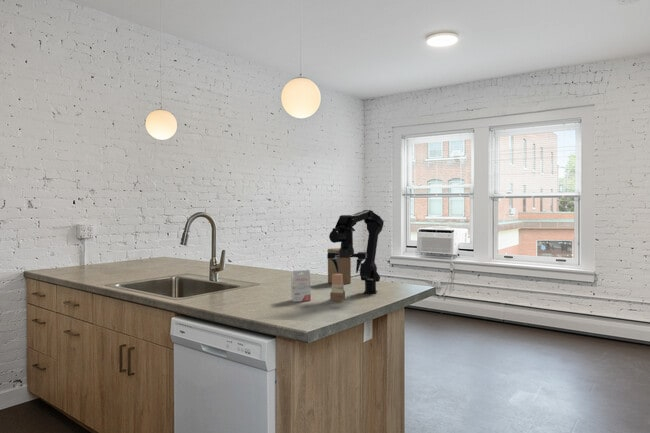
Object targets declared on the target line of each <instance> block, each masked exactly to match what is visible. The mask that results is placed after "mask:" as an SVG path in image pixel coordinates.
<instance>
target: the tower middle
mask: <svg viewBox="0 0 650 433" xmlns="http://www.w3.org/2000/svg"><path fill="white" fill-rule="evenodd" d="M344 291H345V284H344V283H342V284H341V285H336V284H332V283H331V292H332V293H343V292H344Z"/></svg>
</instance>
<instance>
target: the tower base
mask: <svg viewBox="0 0 650 433" xmlns="http://www.w3.org/2000/svg"><path fill="white" fill-rule="evenodd" d="M329 299H330V302H344V301H345V300H346V291H345V290H344V292H343V293H332V291H330V294H329Z"/></svg>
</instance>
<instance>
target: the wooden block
mask: <svg viewBox="0 0 650 433" xmlns="http://www.w3.org/2000/svg"><path fill="white" fill-rule="evenodd" d="M339 250H340V247H337V248H336V247H335V248H334V247H333V248H327V254H328V253H329V252H337V253H339ZM350 256H351V255H350ZM337 258H338V262H339V273H338V272H337V270H336V267H335V264H334V262H333V261H332V260H330V259H328V258H327V283H328V284H332V275H333V274H343V283H344V285H348V283H350V284H352V279H351V278H352V274H351V272H352V270H351V269H352V268H351V267H352V264H351V263H352V262H351V259H352V257H349V258H340V257H337Z"/></svg>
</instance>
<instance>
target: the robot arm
mask: <svg viewBox="0 0 650 433" xmlns="http://www.w3.org/2000/svg"><path fill="white" fill-rule="evenodd" d="M361 221H363V222H364V223H365V225H366V229H367V231H368V238H367V244H366V251H358V252H356V253H355V249H354V234H353V233H354V232H355V231H356V229H355V228H354V227H355V226H356V225H357V223H358V222H361ZM383 228H384V219H383V218H381V216H380V215H378V214H377V213H375V211H374V210H372V209H364V210H362V211H359V212H356V213H352V214H341V215H339V217H338V218H337V222H336V224H335V226H334V227H333V228H332V229H331V231H330V232H329V235H328V238H329V241H330V242H331V243H334V244H335V243H340V247H339V248H340V250H339V253H337V252H329V253H328V252H327V254H326V256H327V257H326V258H327V260H328V259H330V260H332V261H333V262H334V264H335V267H336V270H337V272H338V273H339V262H338V258H337V257H340V258H349V257H351V258H357V259H356V270H355V274H358V272H359V276H360V281H364V291H363V294H377V293H378V290H377V283H378V282H380V281H381V276H380V274H379V273H378V271H377V270H378V267H377V264H376V261H375V260H376V255H377V246H378V239H379V235H380V233H381V232H382V230H383ZM350 255H351V256H350ZM362 261H363V262H362Z"/></svg>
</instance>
